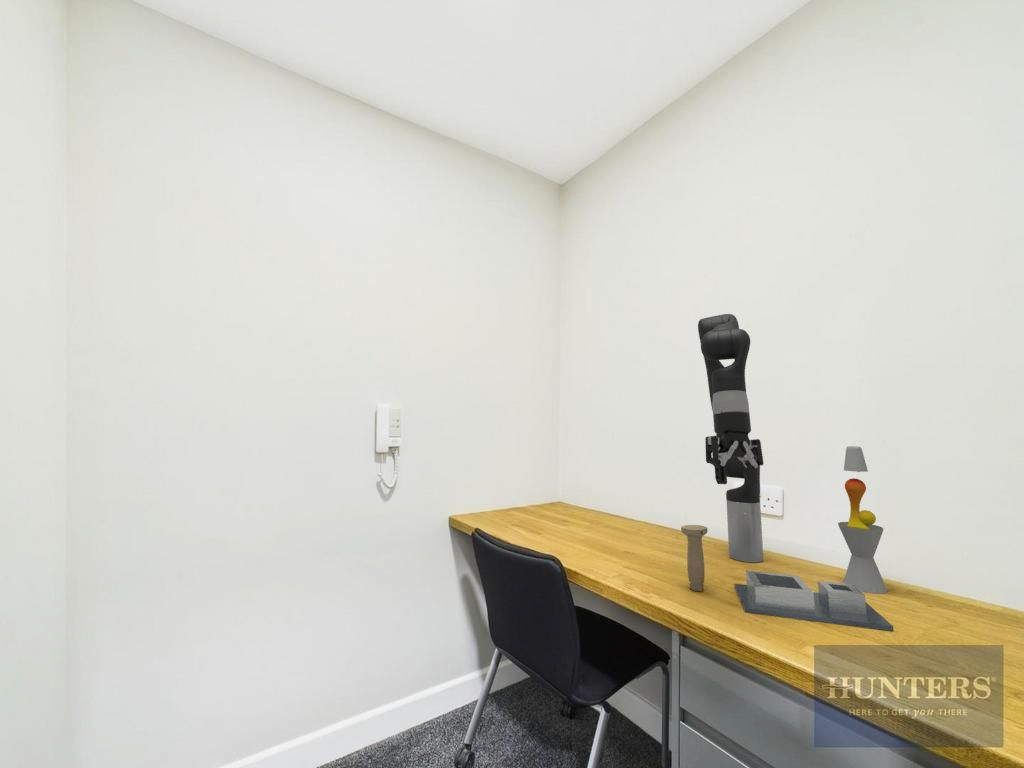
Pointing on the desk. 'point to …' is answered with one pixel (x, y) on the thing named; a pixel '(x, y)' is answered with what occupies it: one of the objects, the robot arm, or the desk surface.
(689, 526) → the handle
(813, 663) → the desk surface
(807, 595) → the socket plate
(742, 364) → the robot arm
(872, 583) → the stacked pieces
